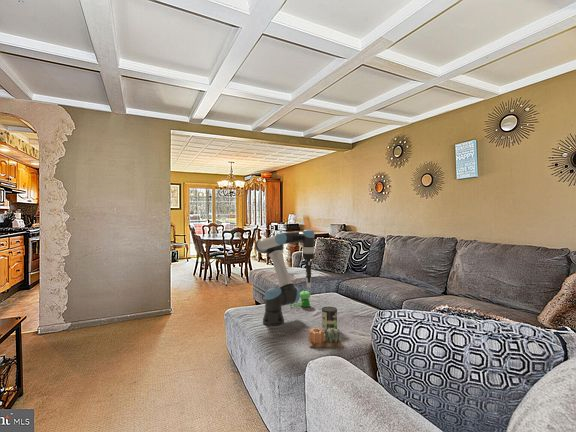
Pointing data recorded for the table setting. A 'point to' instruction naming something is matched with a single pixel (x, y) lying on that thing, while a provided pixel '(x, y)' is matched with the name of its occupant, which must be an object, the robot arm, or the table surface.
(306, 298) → the toy character
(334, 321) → the coffee can
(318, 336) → the loose gear
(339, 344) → the gear board
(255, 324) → the table surface
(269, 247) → the robot arm
